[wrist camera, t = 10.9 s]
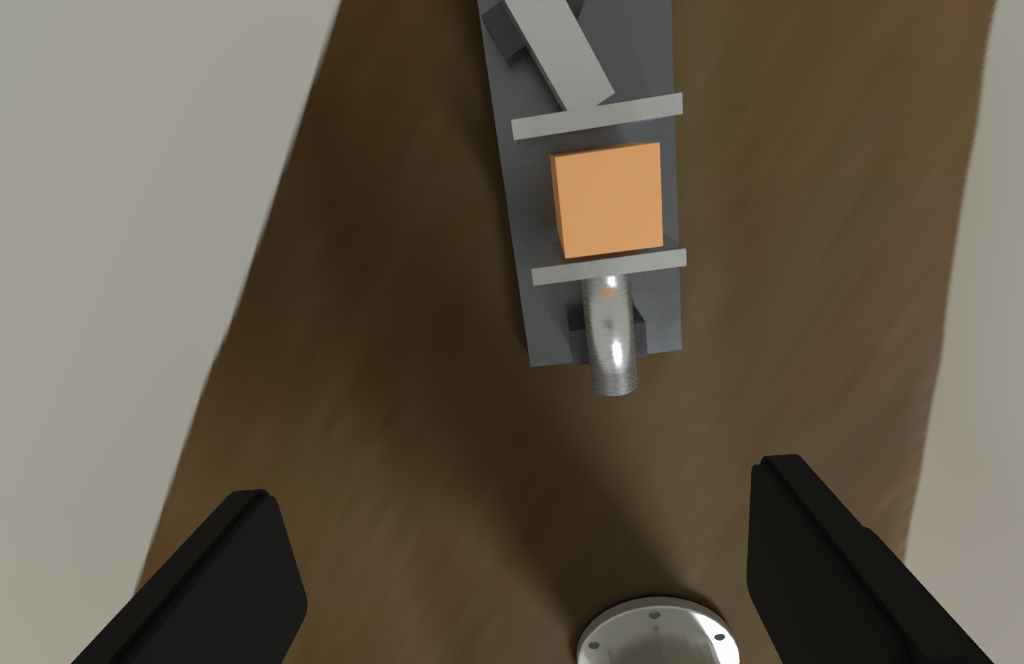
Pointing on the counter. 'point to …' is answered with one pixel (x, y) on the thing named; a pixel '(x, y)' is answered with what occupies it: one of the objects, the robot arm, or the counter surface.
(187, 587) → the robot arm
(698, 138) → the counter surface
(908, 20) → the counter surface
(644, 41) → the shaft stand
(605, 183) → the orange block
